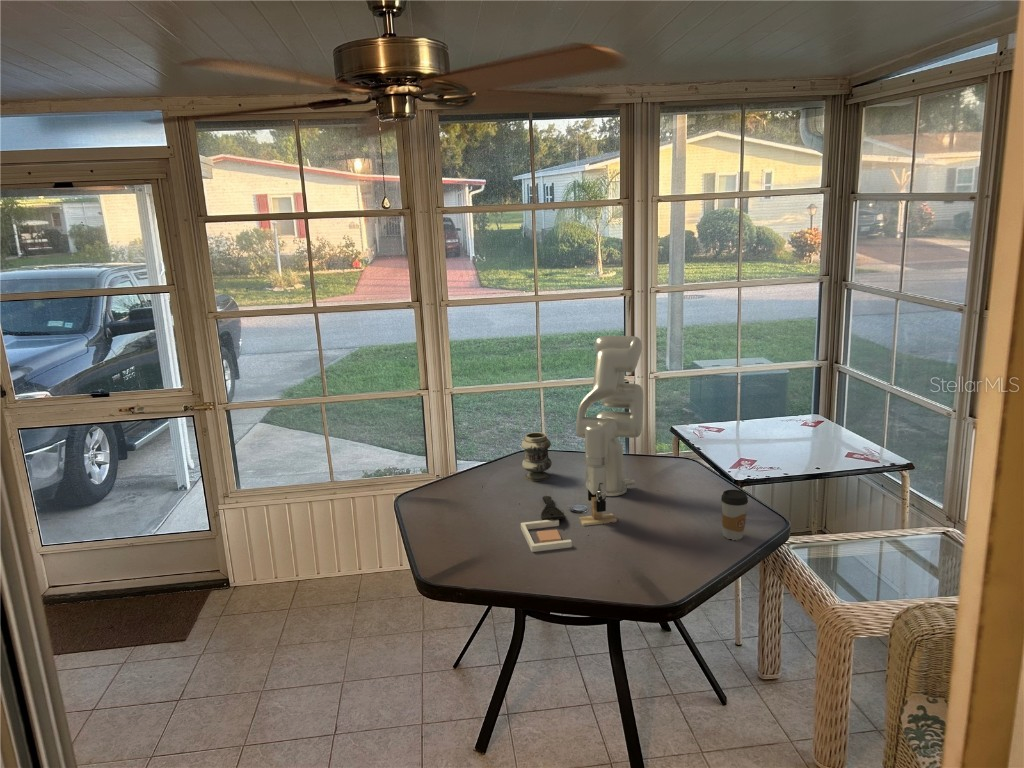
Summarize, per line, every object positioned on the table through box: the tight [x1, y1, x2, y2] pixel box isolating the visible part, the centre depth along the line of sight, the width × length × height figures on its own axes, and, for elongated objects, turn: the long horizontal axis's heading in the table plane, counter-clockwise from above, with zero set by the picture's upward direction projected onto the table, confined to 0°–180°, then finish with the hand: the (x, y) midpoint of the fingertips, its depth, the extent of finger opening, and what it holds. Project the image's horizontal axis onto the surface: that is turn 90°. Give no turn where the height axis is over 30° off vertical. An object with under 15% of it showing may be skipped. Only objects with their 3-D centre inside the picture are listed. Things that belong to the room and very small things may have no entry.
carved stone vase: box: [521, 431, 553, 482], centre depth 288 cm, size 12×12×18 cm
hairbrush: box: [540, 495, 566, 521], centre depth 256 cm, size 8×4×25 cm
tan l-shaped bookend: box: [578, 495, 618, 527], centre depth 246 cm, size 5×12×8 cm, turn 100°
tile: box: [536, 529, 562, 543], centre depth 236 cm, size 7×7×2 cm
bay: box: [520, 519, 573, 553], centre depth 236 cm, size 13×18×2 cm
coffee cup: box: [721, 489, 749, 541], centre depth 230 cm, size 8×8×15 cm
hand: (596, 505), depth 247 cm, fingers open, 9 cm apart
